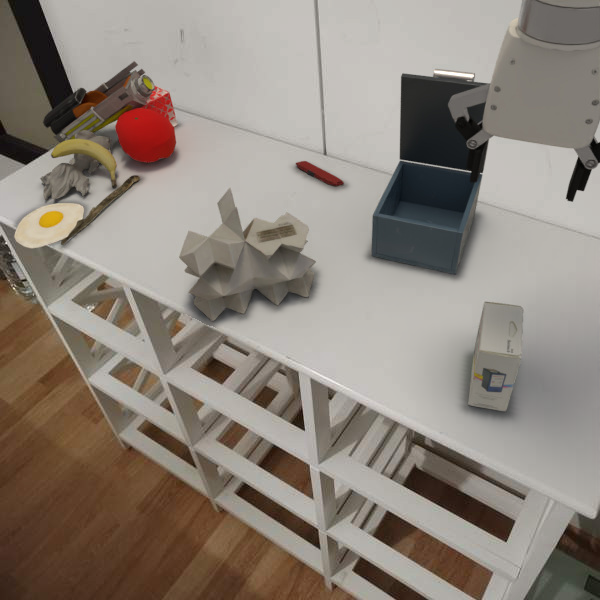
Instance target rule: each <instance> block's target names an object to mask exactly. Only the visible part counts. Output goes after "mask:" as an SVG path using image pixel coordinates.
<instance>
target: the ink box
mask: <svg viewBox="0 0 600 600" xmlns="http://www.w3.org/2000/svg"><path fill="white" fill-rule="evenodd" d="M478 324H479V325H478V331H477V335H476V339H475V343H474V344H475V345H474V350H473V354H472V360H471V361H472V362H471V373H470V383H469V393H468V400H467V401H468V402H467V405H468V406H472V407H477V408H482V409H488V410H492V411H493V410H494V411H499V412H506V411H507V410H508V407H509V403H510V400H511V397H512V394H513V393H512V392H513V390H514V386H515V382H516V380H517V376H518V373H519V369H520V365H521V362H522V353H523V349H522V348H523V334H524V307H523V306H521V305H517V304H509V303H502V302H494V301H484V303H483V307H482V310H481V314H480V319H479V323H478Z"/></svg>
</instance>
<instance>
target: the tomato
mask: <svg viewBox="0 0 600 600" xmlns="http://www.w3.org/2000/svg"><path fill="white" fill-rule="evenodd" d="M114 131H115V133H116V136H117V139H118V143H119V145H120V147H121V149H122V150H123V152H124V153H125V154H126V155H127V156H129V157H130V158H131V159H132V160H134V161H137V162H140V163H146V164H149V163H155V162H157V161H159V160H161V159H167V158H170V157H171V156H172V154H173V153H174V152H175V148H176V145H177V138H176V131H175V126H174V127H173V125H172V124H171V122H170V121H169V120H168V119H167V118H166V117H165V116H164V115H162V114H160V113H158V112H157V111H155V110H152V109H145V108H136V109H133V110H130V111H127V112H125V113H123V114H122V115H121V116H120V117H119V118H118V120H116V123H115V125H114Z"/></svg>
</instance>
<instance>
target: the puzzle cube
mask: <svg viewBox="0 0 600 600" xmlns="http://www.w3.org/2000/svg"><path fill="white" fill-rule="evenodd" d="M141 108H145V109H152V110H155V111H157V112H158V113H160V114H162V115H164V116H165V117H166V118H167V119H168V120H169V121H170V122H171V124H172V125H173V127H174V128H175V127H176V126H178V125H179V124H178V121H177V117H176V113H175V109H174V105H173V102H172V96H171V94H170V91H168V90H166V89H164V88H162V87H160V86H157V85H155V90H154V91H152V94H151V95H150V98H149V99H148V100H147V101H146V103H145V105H144V106H143V107H141Z"/></svg>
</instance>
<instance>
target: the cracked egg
mask: <svg viewBox="0 0 600 600" xmlns="http://www.w3.org/2000/svg"><path fill="white" fill-rule="evenodd" d="M84 213H85V208H84V206H83V205H81V204H79V203H73V202H72V203H71V202H63V203H62V202H61V203H58V202H57V203H51V204H46V205H43V206H40V207H38V208H36V209H34V210H33V211H31V212H30V213H28V214H27V215H25V216H24V217H23V218H22V219H21V220H20V221H19V223H18V225H17V227H16V229H15V232H14V236H13V238H14V240H15V242H17V243H18V244H19V245H21V246H22V247H24V248H28V249H35V248H36V249H37V248H41V247H45V246H48V245H51V244H54V243H57V242H59V241H62V239H64V238H66V237H68V235H69V234H70V232H71V231H72V230H73V229H74V228H75V226H76V224H77V221H79V220H82V219H84Z"/></svg>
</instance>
